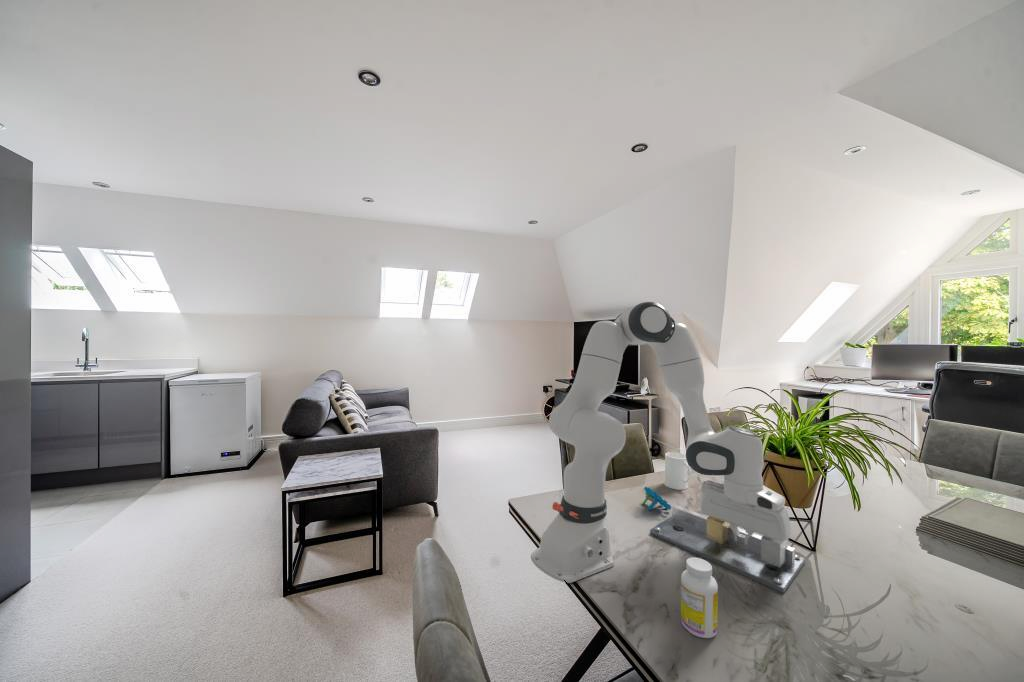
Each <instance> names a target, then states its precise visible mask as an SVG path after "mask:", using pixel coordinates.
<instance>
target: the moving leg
mask: <svg viewBox="0 0 1024 682" xmlns="http://www.w3.org/2000/svg"><path fill="white" fill-rule="evenodd" d="M707 517H708V518H707V538H709V539H711V540H713V541H715V544H717V545H719V543H721V544H723V543H724V542H725V541H726V540H727V539H728V527H729V526H730V523H728V522H726V521H723V520H720V519H717V518H715V517H712V516H709V515H708V516H707Z"/></svg>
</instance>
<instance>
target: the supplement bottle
mask: <svg viewBox="0 0 1024 682" xmlns="http://www.w3.org/2000/svg"><path fill="white" fill-rule="evenodd" d="M685 564H686V565H685V568H686V569H685V570H683V572H682V573H681V575H680V621H681V624H682V626H683V627H684V629H685V630H687V632H689V633H690V634H692V635H693V636H695V637H698V638H700V639H701V638H703V639H711V638H714V637H716V635H717V634H718V629H719V628H718V627H719V625H718V624H719V623H718V616H719V615H718V614H719V613H718V612H719V611H718V608H719V607H718V605H719V604H718V602H719V601H718V600H719V599H718V598H719V597H718V596H719V593H718V591H719V589H718V588H719V586H718V582H717V580H716V579H715V577H714V576H712V575H713V567H712V565H711V563H710V562H709V561H707V560H705V559H704V558H700V557H693V556H692V557H688V558H687V559H686V561H685Z"/></svg>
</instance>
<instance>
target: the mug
mask: <svg viewBox="0 0 1024 682" xmlns="http://www.w3.org/2000/svg"><path fill="white" fill-rule="evenodd" d="M688 474H689V475H688ZM692 475H693V473H692V468H691V467H690V466H689V464H688V462H687V460H686V453H682V452H677V451H672V452H671V451H668V452H665V456H664V482H663V483H664V486H665V487H667V488H670V489H672V490H677V491H683V490H687V489H688V488H689V486H688V483H689V482H690V481H691V480H692ZM688 476H689V477H688Z"/></svg>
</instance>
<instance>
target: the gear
mask: <svg viewBox="0 0 1024 682" xmlns="http://www.w3.org/2000/svg"><path fill="white" fill-rule="evenodd" d="M643 489H644V491H645V493H644V494H645V499H644V500H643V502H642V505H645V504H646V503H647V501H649V502H651V503H650V504H649V506H648V507H647V510H648V511H652V510H653V508H654V506H655V505H657V504H659V505H660V506H662V507H663V508H665V509H666V510H669V511H671V510H672V506H671V505H670V504H669V502H668V501H667V500H665V499H663V498H662V496H661V495H660V494H657V492H656V491H655V490H653V489H652V488H650V487H647V486H645V487H644V488H643Z"/></svg>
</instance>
